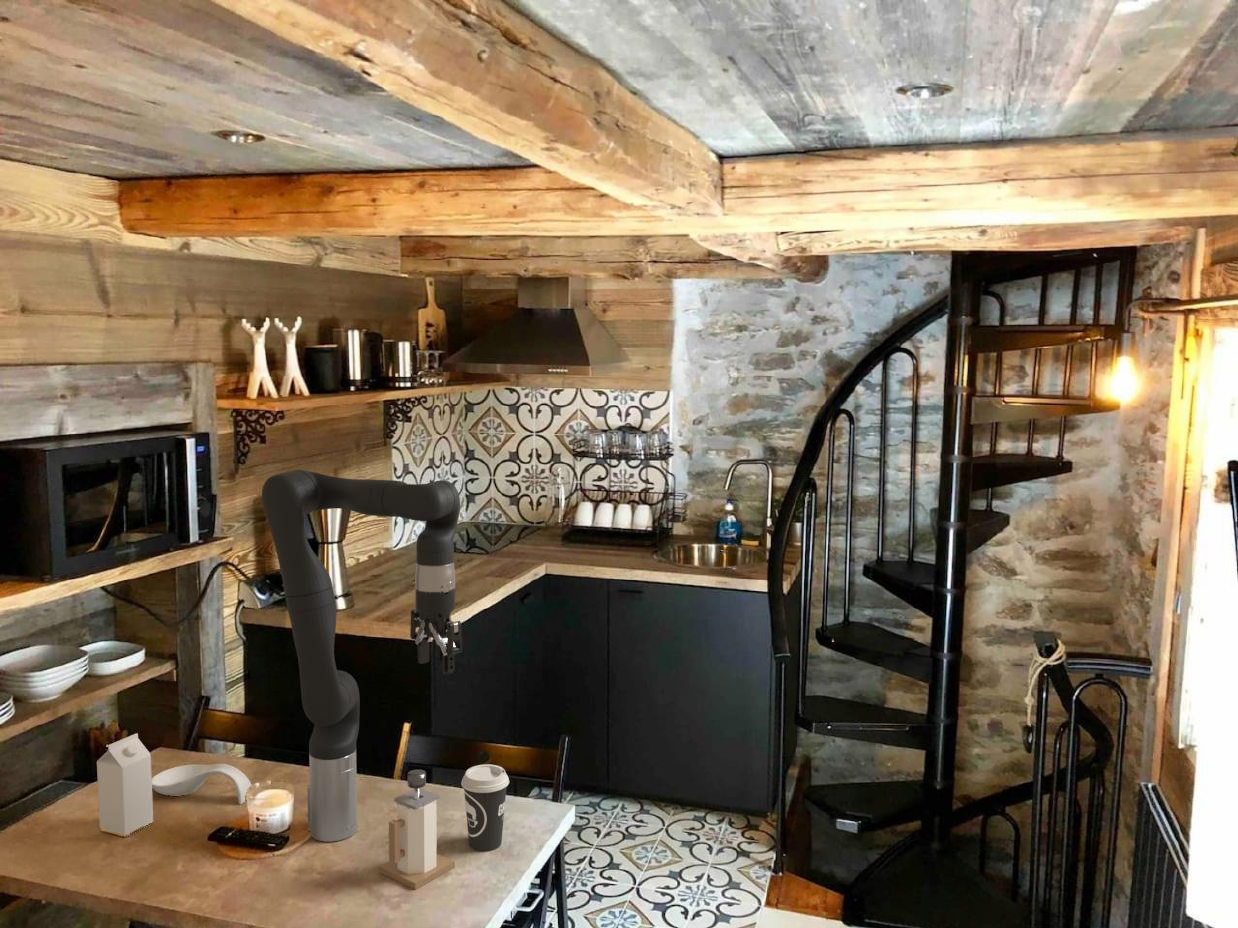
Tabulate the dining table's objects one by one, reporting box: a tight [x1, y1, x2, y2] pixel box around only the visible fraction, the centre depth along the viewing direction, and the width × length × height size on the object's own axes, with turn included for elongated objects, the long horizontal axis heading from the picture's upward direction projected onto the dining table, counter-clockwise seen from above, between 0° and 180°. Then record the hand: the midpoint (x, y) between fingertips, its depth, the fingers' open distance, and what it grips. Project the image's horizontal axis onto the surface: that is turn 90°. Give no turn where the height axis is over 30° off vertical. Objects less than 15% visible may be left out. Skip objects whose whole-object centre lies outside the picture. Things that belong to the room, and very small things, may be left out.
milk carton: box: [96, 732, 154, 835], centre depth 204 cm, size 7×7×19 cm
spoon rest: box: [152, 763, 253, 805], centre depth 221 cm, size 24×12×7 cm, turn 76°
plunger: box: [407, 769, 427, 800], centre depth 188 cm, size 5×5×14 cm
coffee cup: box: [460, 763, 510, 852], centre depth 199 cm, size 10×10×15 cm
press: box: [379, 787, 456, 890], centre depth 188 cm, size 10×11×15 cm
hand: (435, 667), depth 191 cm, fingers open, 8 cm apart
